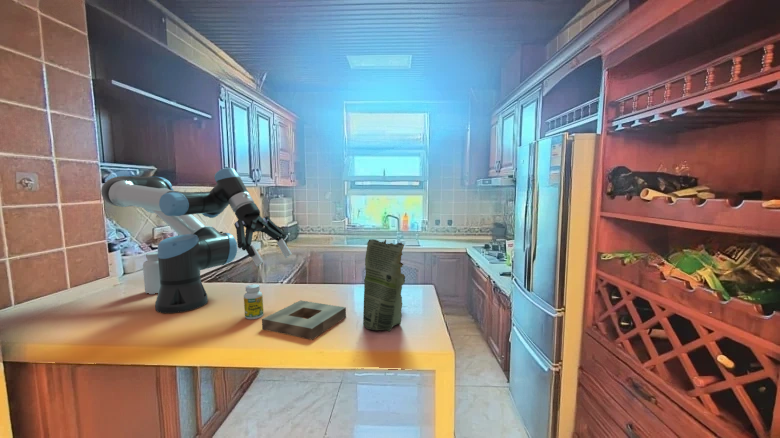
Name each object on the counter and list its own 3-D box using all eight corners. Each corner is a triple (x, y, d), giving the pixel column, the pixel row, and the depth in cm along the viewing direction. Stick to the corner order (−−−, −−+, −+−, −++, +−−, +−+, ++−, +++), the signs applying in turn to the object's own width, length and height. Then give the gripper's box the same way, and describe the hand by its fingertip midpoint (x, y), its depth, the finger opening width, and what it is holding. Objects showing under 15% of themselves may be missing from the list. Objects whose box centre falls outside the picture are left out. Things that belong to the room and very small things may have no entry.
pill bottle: (139, 294, 130) (136, 254, 128) (157, 287, 138) (154, 250, 136) (158, 295, 128) (155, 255, 127) (174, 288, 136) (172, 251, 135)
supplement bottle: (261, 311, 110) (259, 282, 109) (265, 317, 106) (264, 286, 105) (243, 315, 107) (241, 285, 107) (246, 321, 103) (245, 289, 102)
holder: (262, 329, 97) (261, 318, 97) (300, 309, 112) (300, 300, 112) (312, 339, 90) (311, 328, 90) (345, 316, 106) (345, 307, 105)
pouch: (364, 318, 104) (363, 236, 102) (404, 318, 104) (403, 236, 102) (361, 334, 93) (360, 242, 91) (405, 333, 93) (405, 242, 91)
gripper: (220, 203, 107) (253, 261, 103) (276, 200, 129) (305, 247, 126) (207, 217, 109) (239, 274, 106) (264, 211, 132) (292, 258, 129)
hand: (275, 260), depth 116 cm, fingers open, 13 cm apart
